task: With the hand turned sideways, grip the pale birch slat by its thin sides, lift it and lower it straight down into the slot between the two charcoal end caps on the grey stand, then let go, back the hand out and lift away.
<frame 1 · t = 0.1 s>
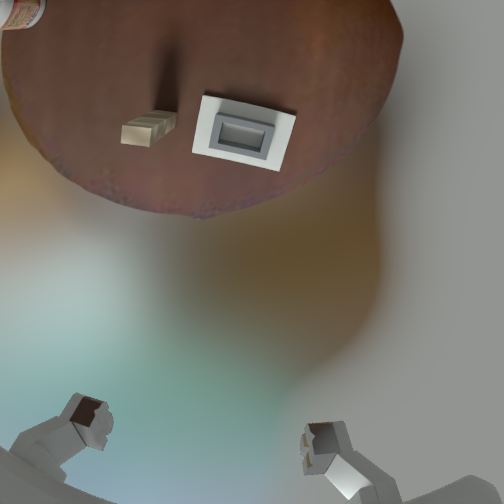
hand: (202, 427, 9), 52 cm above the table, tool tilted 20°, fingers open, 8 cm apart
slat: (164, 118, 50), on the table
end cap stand: (242, 132, 52), on the table
fruit juice: (33, 11, 28), on the table
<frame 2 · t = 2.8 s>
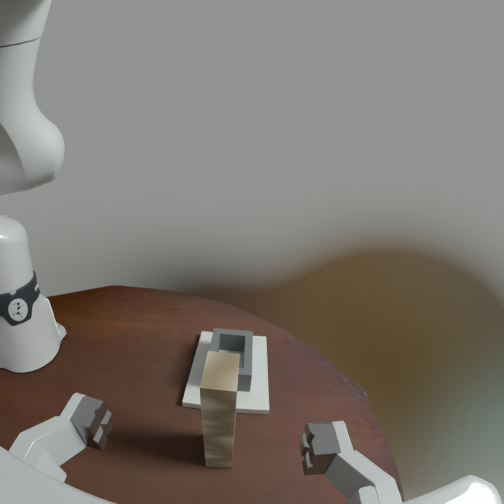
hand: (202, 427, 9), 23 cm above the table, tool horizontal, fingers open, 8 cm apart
slat: (220, 451, 28), on the table
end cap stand: (229, 370, 43), on the table
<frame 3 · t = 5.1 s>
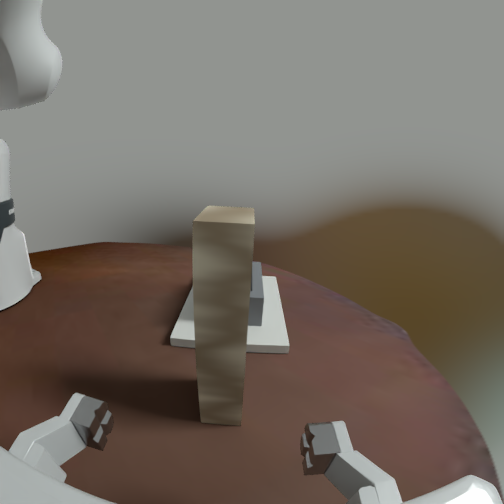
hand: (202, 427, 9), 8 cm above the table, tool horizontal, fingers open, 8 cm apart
slat: (223, 401, 20), on the table
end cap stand: (233, 308, 36), on the table
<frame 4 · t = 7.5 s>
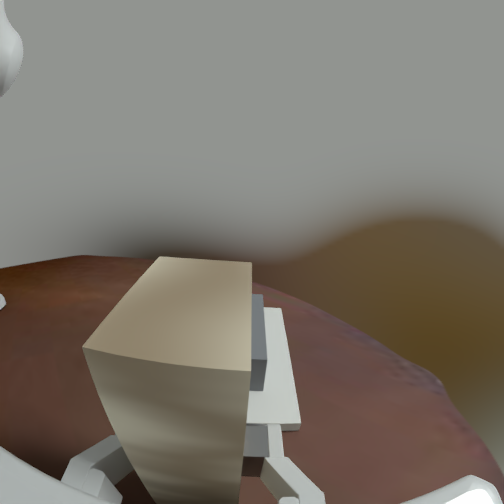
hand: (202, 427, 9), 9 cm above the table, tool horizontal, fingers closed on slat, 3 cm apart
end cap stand: (227, 357, 26), on the table
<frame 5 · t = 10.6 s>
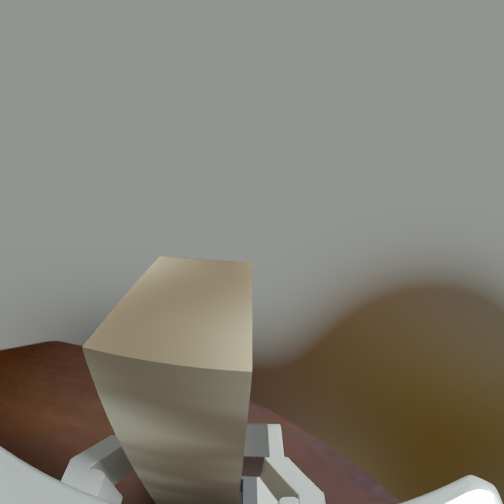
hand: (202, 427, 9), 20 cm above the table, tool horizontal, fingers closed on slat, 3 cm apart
when the fingers open (10 cm above the table, at t = 13.9 s): slat stays where it is, resting on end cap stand.
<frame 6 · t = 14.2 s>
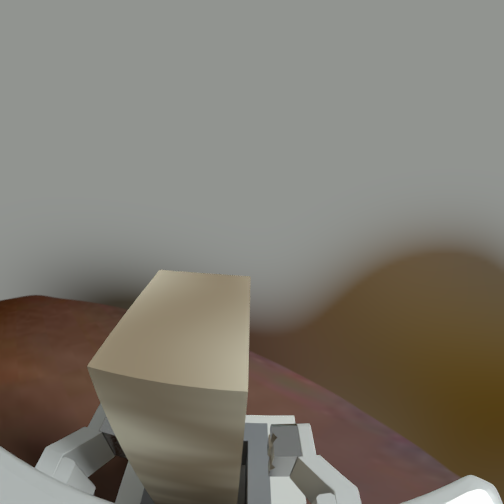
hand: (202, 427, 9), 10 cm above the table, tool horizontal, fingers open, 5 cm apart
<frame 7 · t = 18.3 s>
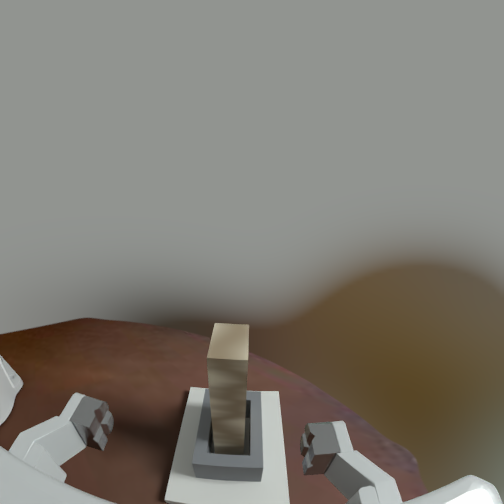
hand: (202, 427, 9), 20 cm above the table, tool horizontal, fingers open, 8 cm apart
slat: (230, 441, 26), point 1 cm above the table, touching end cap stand
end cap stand: (230, 446, 27), on the table
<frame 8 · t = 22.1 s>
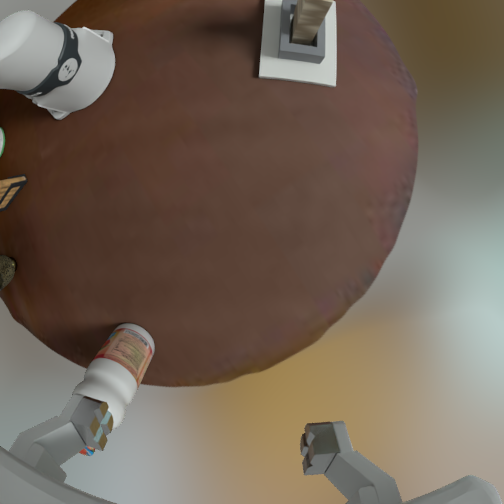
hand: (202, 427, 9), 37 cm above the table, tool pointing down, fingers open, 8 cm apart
ammunition clip: (15, 192, 42), on the table
slat: (300, 33, 34), point 1 cm above the table, touching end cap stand
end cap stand: (299, 35, 35), on the table
cup 2: (14, 263, 47), on the table
fruit juice: (134, 340, 52), on the table
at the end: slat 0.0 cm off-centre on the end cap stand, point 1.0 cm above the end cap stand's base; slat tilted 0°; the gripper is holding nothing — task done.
